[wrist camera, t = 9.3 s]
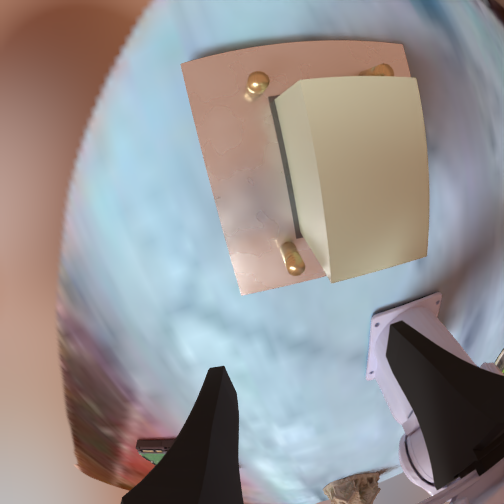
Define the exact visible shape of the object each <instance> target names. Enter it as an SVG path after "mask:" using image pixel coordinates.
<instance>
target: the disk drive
mask: <svg viewBox="0 0 504 504" xmlns="http://www.w3.org/2000/svg"><path fill="white" fill-rule="evenodd" d="M174 441H175V439H174V440H137V445H136V449H137V450H138V452H139V454H140V455H142V457H144V458H145V459H146V460H148V461H150V462H151V463H153V464H154V465H157V464H158V462H159V461H160V460H161V459H162V458H163V456H164V455H165V454H166V452H167V451H168V450H169V448H170V447H171V445H172V444H173V442H174Z"/></svg>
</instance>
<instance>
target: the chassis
mask: <svg viewBox="0 0 504 504" xmlns="http://www.w3.org/2000/svg"><path fill="white" fill-rule="evenodd" d="M181 68H182V72H183V76H184V81H185V85H186V89H187V93H188V97H189V102H190V106H191V110H192V114H193V118H194V122H195V126H196V130H197V134H198V138H199V142H200V146H201V150H202V154H203V158H204V161H205V165H206V169H207V173H208V177H209V181H210V184H211V188H212V192H213V196H214V199H215V203H216V207H217V210H218V214H219V218H220V221H221V225H222V229H223V232H224V236H225V240H226V243H227V247H228V250H229V254H230V257H231V261H232V264H233V268H234V271H235V275H236V278H237V282H238V285H239V289H240V292H241V296H242V295H247V294H251V293H256V292H260V291H265V290H269V289H274V288H278V287H283V286H287V285H291V284H295V283H300V282H304V281H308V280H312V279H316V278H320V277H324V276H327V275H326V273H325V271H324V270H323V268H322V266H321V265H320V263H319V262H318V260H317V258H316V257H315V255H314V253H313V252H312V250H311V248H310V247H309V245H308V244H307V242H306V240H305V239H304V237H303V236H302V234H301V232H300V227H299V221H298V215H297V209H296V203H295V197H294V192H293V186H292V181H291V176H290V170H289V165H288V160H287V155H286V150H285V145H284V140H283V136H282V131H281V126H280V122H279V117H278V113H277V109H276V104H275V99H276V98H277V97H278V96H280V95H281V94H282V93H283V92H285V91H286V90H287V89H288V88H290V87H291V86H292V85H294V84H295V83H296V82H298V81H299V80H304V79H314V78H327V77H344V76H393V77H411V75H410V71H409V67H408V63H407V59H406V55H405V51H404V48H403V44H395V43H385V42H373V41H352V40H325V41H303V42H290V43H280V44H272V45H264V46H258V47H251V48H245V49H240V50H235V51H230V52H225V53H220V54H216V55H212V56H207V57H204V58H200V59H196V60H192V61H189V62H185V63H182V64H181Z"/></svg>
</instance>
